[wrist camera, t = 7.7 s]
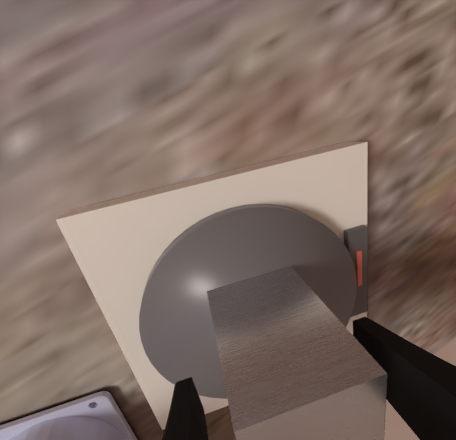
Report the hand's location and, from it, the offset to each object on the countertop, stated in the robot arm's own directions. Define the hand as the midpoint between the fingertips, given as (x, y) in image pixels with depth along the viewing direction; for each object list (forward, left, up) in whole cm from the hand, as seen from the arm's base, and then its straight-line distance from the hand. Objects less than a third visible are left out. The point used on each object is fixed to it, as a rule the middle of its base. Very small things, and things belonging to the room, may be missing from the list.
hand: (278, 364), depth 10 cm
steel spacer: (0, 0, -3) cm, 3 cm away
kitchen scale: (0, 0, -5) cm, 5 cm away
